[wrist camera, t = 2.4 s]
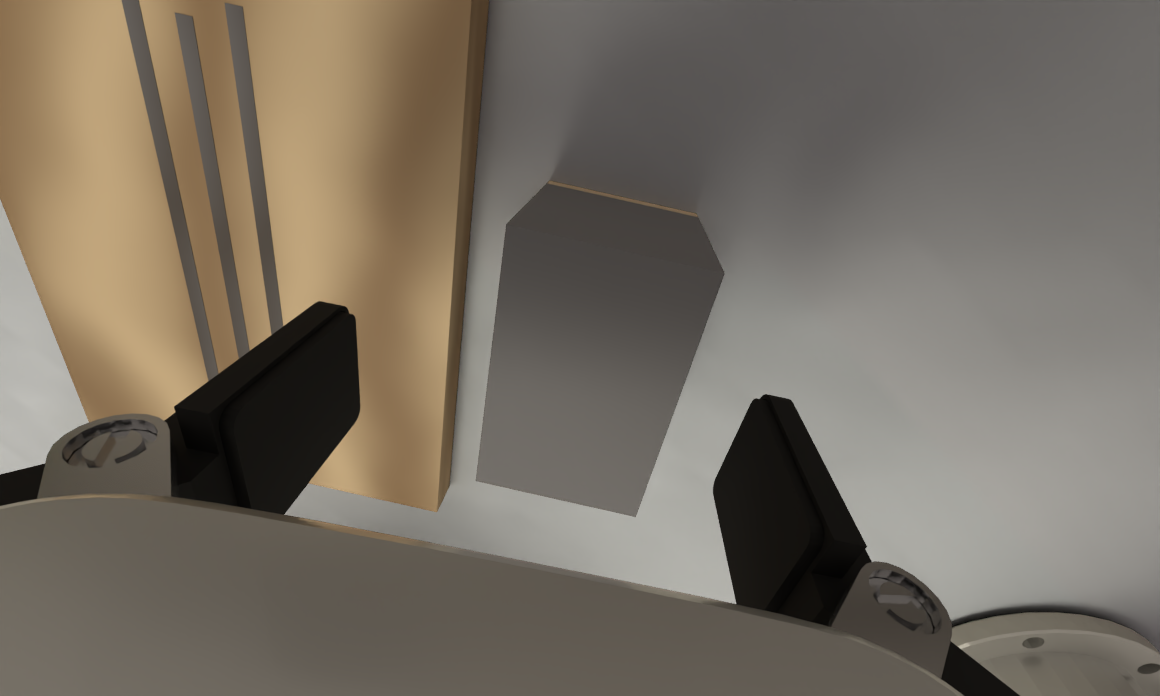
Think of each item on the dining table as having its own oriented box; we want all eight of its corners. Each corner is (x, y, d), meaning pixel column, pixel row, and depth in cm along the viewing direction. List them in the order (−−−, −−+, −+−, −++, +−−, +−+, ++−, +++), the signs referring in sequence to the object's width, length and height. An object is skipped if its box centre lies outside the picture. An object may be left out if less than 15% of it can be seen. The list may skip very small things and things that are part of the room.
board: (498, -116, 12) (480, -143, 11) (449, 486, 23) (436, 512, 22) (-102, -251, 12) (-198, -296, 11) (127, 414, 23) (93, 435, 22)
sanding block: (695, 213, 16) (724, 273, 11) (636, 403, 20) (635, 516, 15) (550, 180, 16) (506, 224, 11) (519, 377, 20) (475, 480, 15)
